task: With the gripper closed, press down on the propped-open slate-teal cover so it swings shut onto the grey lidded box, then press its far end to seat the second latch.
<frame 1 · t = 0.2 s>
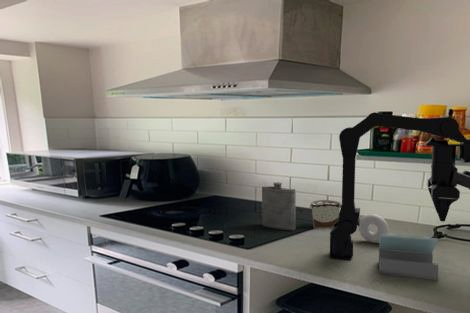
hand: (440, 217, 104), 14 cm above the worktop, tool pointing down, fingers open, 9 cm apart
donut: (373, 243, 127), on the worktop
flask: (278, 228, 146), on the worktop
food container: (323, 226, 147), on the worktop
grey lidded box: (406, 270, 103), on the worktop
cover: (406, 243, 103), point 7 cm above the worktop, hinge at 40.0°
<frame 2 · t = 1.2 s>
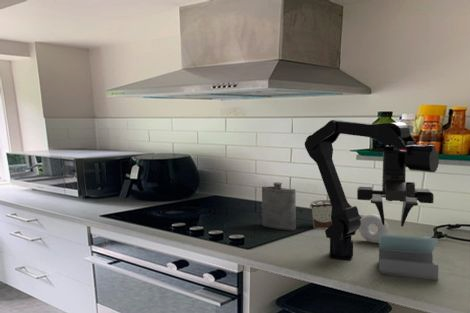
hand: (392, 225, 101), 13 cm above the worktop, tool pointing down, fingers open, 4 cm apart
nothing on the worktop moved.
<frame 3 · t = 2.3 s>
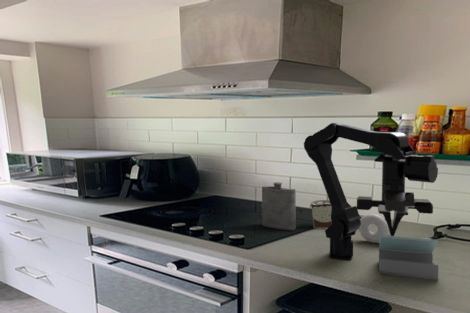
hand: (392, 235, 101), 10 cm above the worktop, tool pointing down, fingers closed, pressing on cover
cover: (406, 243, 103), point 7 cm above the worktop, hinge at 37.7°, touching gripper
everything else where it was.
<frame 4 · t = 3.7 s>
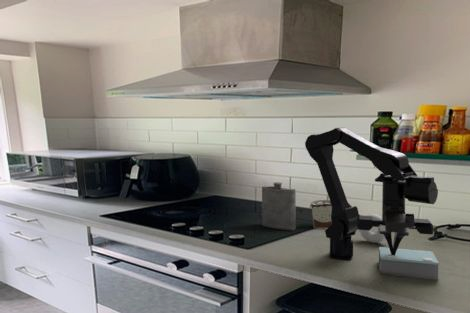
hand: (393, 255, 101), 5 cm above the worktop, tool pointing down, fingers closed, pressing on cover
cover: (407, 254, 102), point 5 cm above the worktop, hinge at 1.7°, touching gripper
everything else where it was.
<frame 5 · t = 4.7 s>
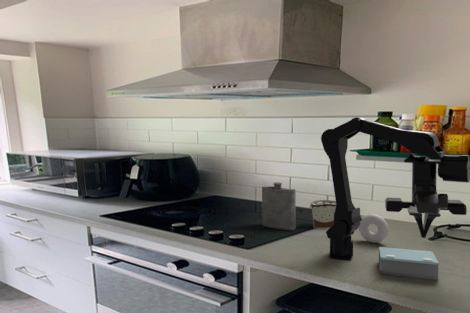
hand: (423, 237, 99), 10 cm above the worktop, tool pointing down, fingers closed
cover: (407, 254, 102), point 5 cm above the worktop, hinge at 1.7°
everything else where it was.
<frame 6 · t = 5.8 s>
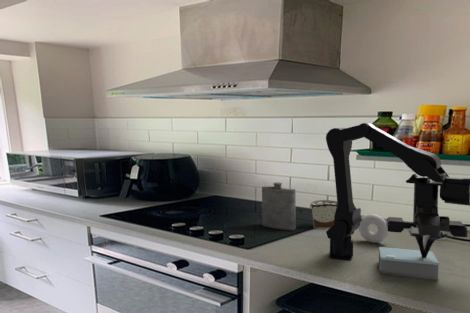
hand: (423, 257, 99), 5 cm above the worktop, tool pointing down, fingers closed, pressing on cover
cover: (407, 254, 102), point 5 cm above the worktop, hinge at 1.4°, touching gripper
everything else where it was.
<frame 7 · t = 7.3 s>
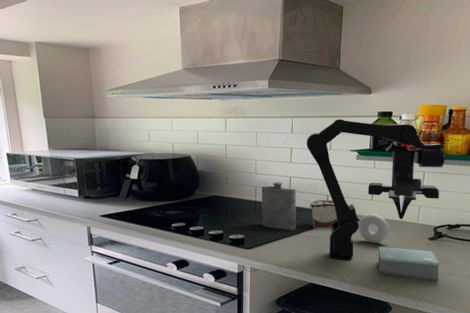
hand: (401, 218, 110), 12 cm above the worktop, tool pointing down, fingers closed
cover: (407, 254, 102), point 5 cm above the worktop, hinge at 0.9°
everything else where it was.
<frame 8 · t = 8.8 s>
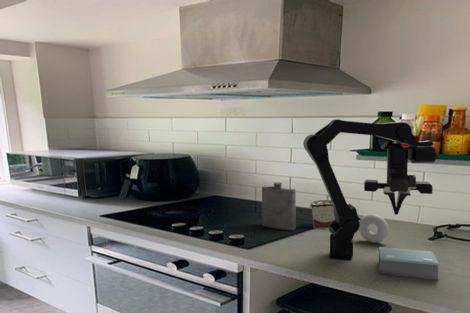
hand: (396, 214, 113), 13 cm above the worktop, tool pointing down, fingers closed
nothing on the worktop moved.
at the end: cover at +1° (first picture: +40°) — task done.
